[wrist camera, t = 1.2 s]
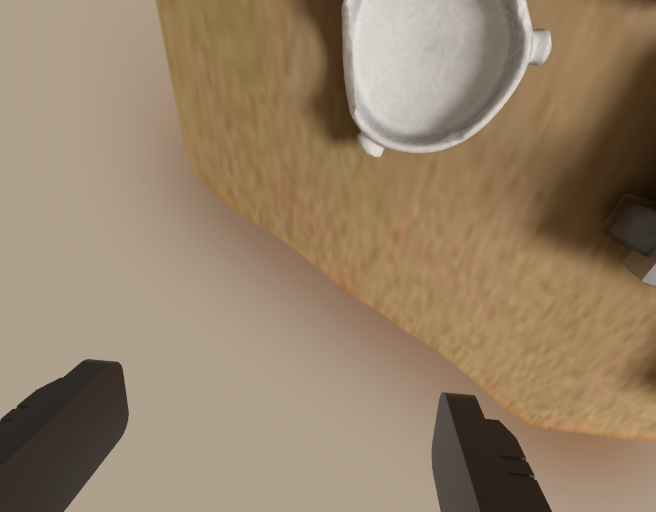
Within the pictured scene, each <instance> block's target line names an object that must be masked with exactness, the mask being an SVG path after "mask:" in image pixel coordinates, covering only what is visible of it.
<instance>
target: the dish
mask: <svg viewBox="0 0 656 512" xmlns="http://www.w3.org/2000/svg"><path fill="white" fill-rule="evenodd" d="M341 13H342V41H343V68H344V80H345V87H346V95H347V100H348V105H349V111H350V114H351V116H352V118H353V120H354V122H355V123H356V125H357V126H358V128H359V129H360V130H361V132H360V133H359V134H358V135H357V140H358V142H359V144H360V146H361V147H362V148H363V150H364V151H365V152H366V154H369V155H371V156H373V157H380V156H381V155H382V153H383V151H384V149H385V148H388V149H392V150H396V151H400V152H408V153H430V152H436V151H440V150H444V149H447V148H449V147H452V146H455V145H457V144H459V143H461V142H463V141H465V140H466V139H468V138H469V137H471V136H473V135H474V134H475V133H477V132H478V131H479V130H481V129H482V128H483V127H484V126H485V125H486V124H487V123H488V122H489V121H490V120H491V119H492V118H493V117H494V116H495V115H496V114H497V113H498V111H499V110H500V109H501V108H502V107H503V105H504V104H505V103H506V102H507V101H508V99H509V98H510V96H511V95H512V93H513V92H514V90H515V89H516V87H517V86H518V84H519V82H520V81H521V79H522V77H523V75H524V73H525V71H526V68H527V66H528V64H531V65H541V64H542V63H544V62H545V60H546V59H547V57H548V56H549V53H550V51H551V46H552V43H551V36H550V32H549V31H548V30H547V29H538V30H532V24H531V20H530V16H529V12H528V7H527V3H526V0H343V4H342V8H341Z"/></svg>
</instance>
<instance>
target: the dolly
mask: <svg viewBox="0 0 656 512" xmlns="http://www.w3.org/2000/svg"><path fill="white" fill-rule="evenodd" d="M601 229H602V231H603V232H604V233H605V234H607V235H608V236H609V237H610V238H612V239H613V240H615V241H616V242H618V243H620V244H621V245H623V246H625V247H627V248H629V249H631V251H630V252H629V254H628V255H627V256H626V258H625V259H624V260H623V261H622V262H623V263H624V264H625V265H626V266H627V267H628V268H629V269H630V270H631V271H632V272H633V273H634V274H635V275H636V276H637V277H638V278H639V279H640V281H642V282H645V283H648V284H651V285H654V286H656V201H653V200H650V199H647V198H644V197H641V196H637V195H633V194H624V195H623V196H622V198H621V199H620V201H619V202H618V204H617V205H616V206H615V208H614V209H613V211H612V212H611V214H610V215H609V216H608V218H607V219H606V221H605V222H604V224H603V225H602V226H601Z"/></svg>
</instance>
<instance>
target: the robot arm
mask: <svg viewBox="0 0 656 512" xmlns="http://www.w3.org/2000/svg"><path fill="white" fill-rule="evenodd" d="M128 414H129V412H128V404H127V397H126V390H125V382H124V375H123V369H122V366H121V364H120V363H119V362H114V361H103V360H92V359H87V360H84V361H82V362H81V363H80V364H79V365H78V366H76V367H75V368H74V369H73V370H72V371H70V372H69V373H68V374H67V375H66V376H64V377H63V378H59V379H57V380H55V381H53V382H51V383H49V384H47V385H45V386H44V387H41V388H39V389H38V390H36V391H35V392H34V393H32V394H31V395H30V396H29V397H27V398H26V399H25V400H24V401H22V402H21V403H20V404H19V405H17V408H16V409H12V410H11V411H10V412H9V413H7V414H6V415H5V416H4V417H3V418H2V419H1V421H0V512H64V511H65V509H66V508H67V507H68V506H69V504H70V503H71V502H72V500H73V499H74V498H75V497H76V495H77V494H78V493H79V491H80V490H81V489H82V488H83V486H84V485H85V484H86V482H87V481H88V480H89V479H90V477H91V476H92V475H93V473H94V472H95V471H96V470H97V468H98V467H99V466H100V464H101V463H102V462H103V461H104V459H105V458H106V457H107V455H108V454H109V453H110V452H111V450H112V449H113V448H114V446H115V445H116V444H117V442H118V441H119V440H120V438H121V437H122V435H123V434H124V431H125V429H126V426H127V422H128V416H129V415H128ZM432 469H433V475H434V480H435V484H436V490H437V495H438V500H439V505H440V510H441V512H552V511H551V509H550V507H549V505H548V503H547V501H546V498H545V496H544V494H543V492H542V490H541V488H540V486H539V484H538V482H537V480H535V479H534V474H533V472H532V470H531V468H530V466H529V464H528V462H526V457H525V455H524V453H523V451H522V449H521V447H520V445H519V443H518V441H517V439H516V437H515V436H514V435H513V434H512V433H511V432H510V431H509V430H508V429H507V428H506V427H505V426H504V425H503V424H502V423H501V422H500V421H499V420H491V419H485V418H484V415H483V413H482V410H481V408H480V406H479V403H478V401H477V399H476V397H475V396H474V395H466V394H455V393H441V395H440V399H439V405H438V411H437V417H436V423H435V430H434V436H433V443H432Z"/></svg>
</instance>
